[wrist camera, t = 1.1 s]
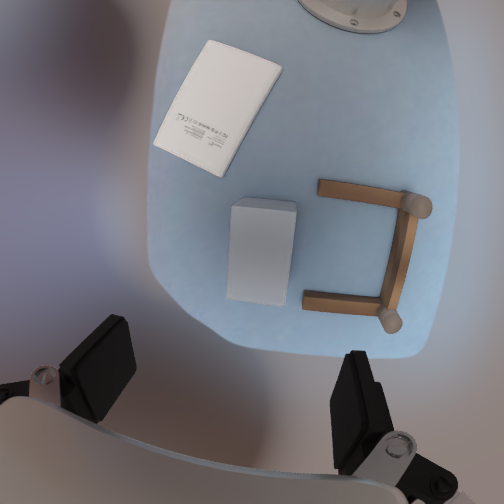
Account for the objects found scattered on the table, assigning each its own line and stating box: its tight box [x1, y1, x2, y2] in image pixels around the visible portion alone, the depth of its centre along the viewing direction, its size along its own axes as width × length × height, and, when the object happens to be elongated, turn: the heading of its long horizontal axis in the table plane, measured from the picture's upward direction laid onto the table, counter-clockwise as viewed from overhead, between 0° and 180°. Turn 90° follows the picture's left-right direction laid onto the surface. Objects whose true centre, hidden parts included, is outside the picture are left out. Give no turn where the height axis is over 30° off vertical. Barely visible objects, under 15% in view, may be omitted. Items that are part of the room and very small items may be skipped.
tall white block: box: [227, 197, 297, 307], centre depth 25 cm, size 8×5×6 cm, turn 175°
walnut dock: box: [302, 179, 432, 334], centre depth 25 cm, size 14×10×4 cm
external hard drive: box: [153, 39, 283, 178], centre depth 24 cm, size 2×8×12 cm
